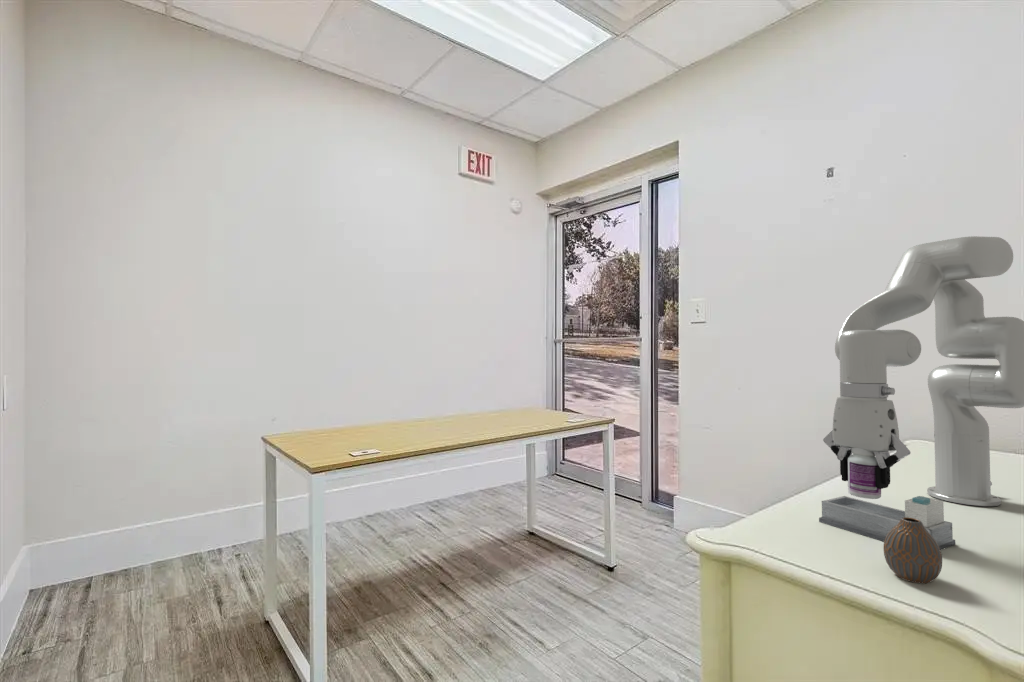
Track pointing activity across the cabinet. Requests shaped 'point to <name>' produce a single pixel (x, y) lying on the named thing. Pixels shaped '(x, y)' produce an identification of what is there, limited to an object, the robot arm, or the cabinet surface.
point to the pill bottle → (862, 474)
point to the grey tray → (887, 517)
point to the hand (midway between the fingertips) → (864, 482)
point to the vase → (912, 552)
